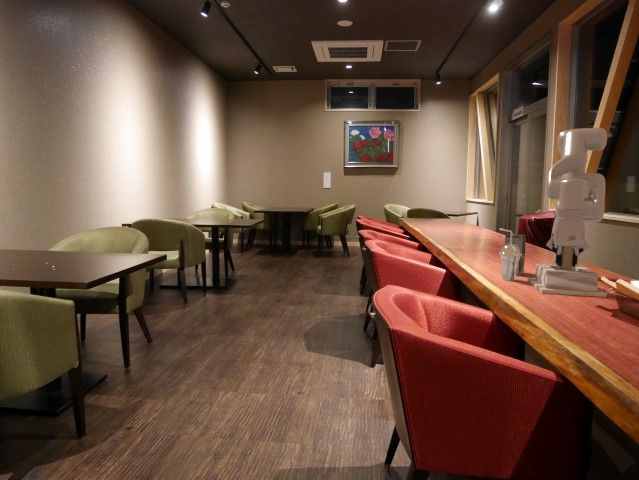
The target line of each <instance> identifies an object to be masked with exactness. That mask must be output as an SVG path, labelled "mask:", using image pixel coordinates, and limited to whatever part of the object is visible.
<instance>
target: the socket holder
mask: <svg viewBox="0 0 639 480" xmlns="http://www.w3.org/2000/svg"><path fill="white" fill-rule="evenodd" d="M535 266H536V267H535V277H534V278H533V277H532V278H531V277H528V278H527V282H528V283H529V284H530V285H532V286H533V287H534V288H535V289H536V290H537V291H539V292H540V293H541V294H547V295H548V294H550V295H567V296H582V297H600V298H601V297H602V298H607V293H606V292H605V291H603V290H601V289H599V288H598V280H599V273H598V272H595V271H593V270H591V269H589V268H587V267H585V266H584V265H579V266H575V267H573V266H572V270H571V271H565V270H560V266H558V265H554V264H546V263H544V264H543V263H536V264H535Z"/></svg>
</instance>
